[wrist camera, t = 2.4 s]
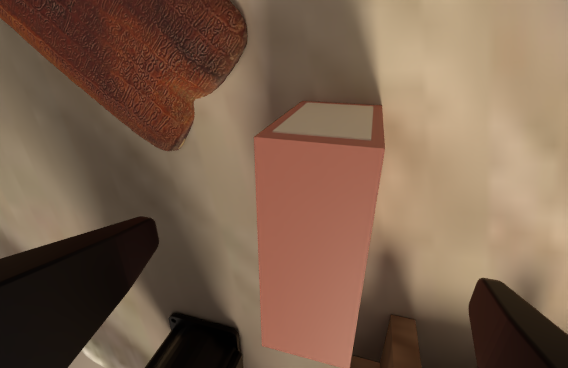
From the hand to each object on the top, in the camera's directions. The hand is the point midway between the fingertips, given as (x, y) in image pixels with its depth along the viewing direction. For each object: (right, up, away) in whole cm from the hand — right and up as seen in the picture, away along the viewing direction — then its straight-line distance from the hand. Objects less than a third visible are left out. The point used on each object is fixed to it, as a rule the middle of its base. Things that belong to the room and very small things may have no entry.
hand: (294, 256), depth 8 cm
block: (+3, +2, +9) cm, 10 cm away
